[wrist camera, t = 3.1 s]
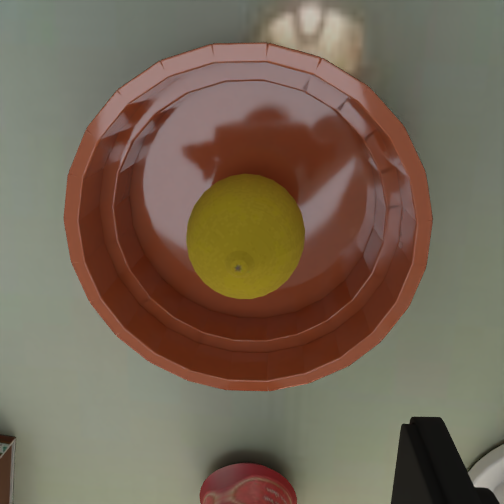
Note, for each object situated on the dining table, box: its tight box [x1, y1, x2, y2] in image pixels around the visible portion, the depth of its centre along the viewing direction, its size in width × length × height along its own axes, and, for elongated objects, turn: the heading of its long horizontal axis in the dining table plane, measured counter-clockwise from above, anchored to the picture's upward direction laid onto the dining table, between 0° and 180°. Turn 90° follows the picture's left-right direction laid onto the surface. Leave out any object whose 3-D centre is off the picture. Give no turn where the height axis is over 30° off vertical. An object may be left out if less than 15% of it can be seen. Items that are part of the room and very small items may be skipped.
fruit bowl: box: [64, 42, 433, 391], centre depth 23 cm, size 16×16×6 cm
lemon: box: [186, 174, 305, 299], centre depth 22 cm, size 6×6×8 cm
